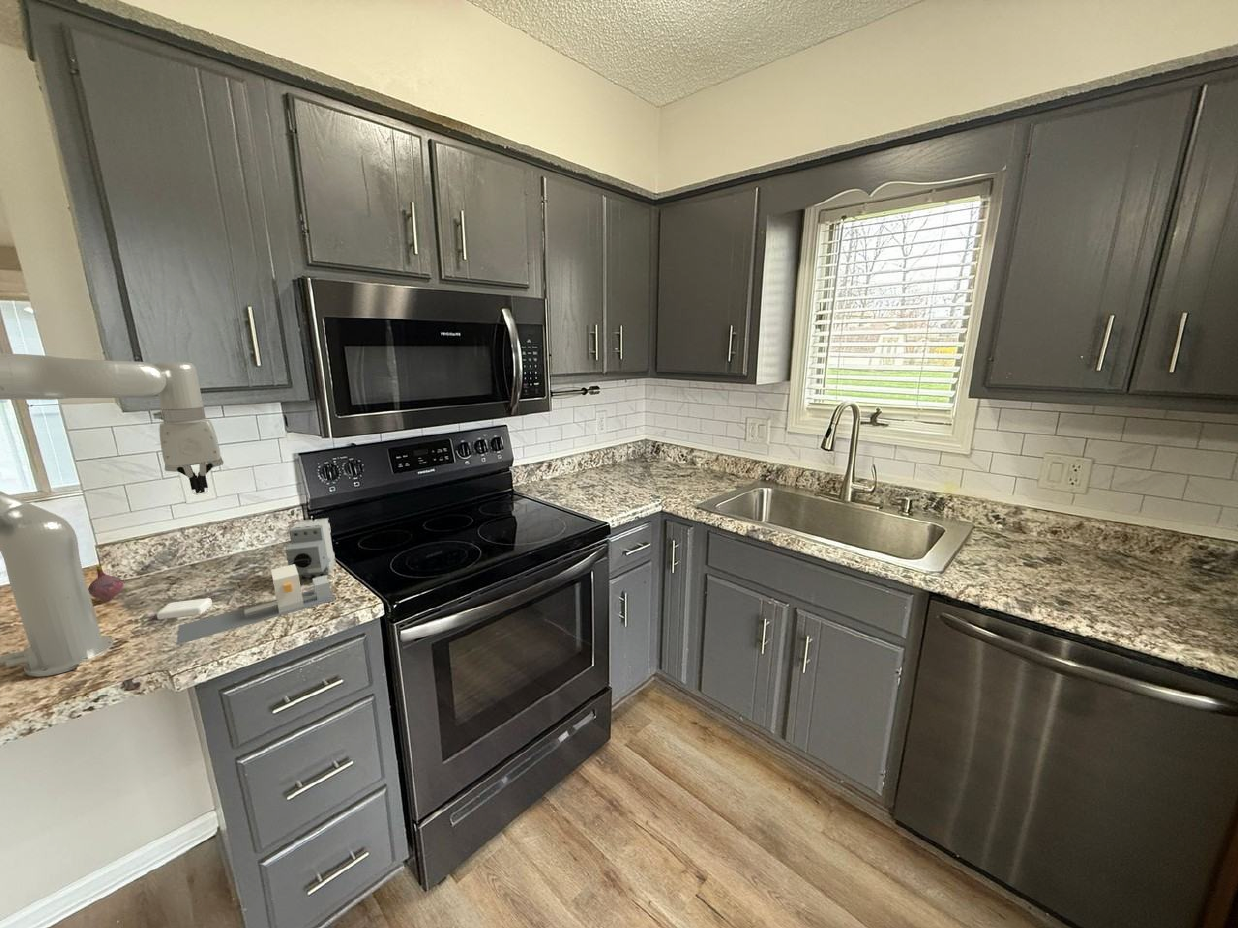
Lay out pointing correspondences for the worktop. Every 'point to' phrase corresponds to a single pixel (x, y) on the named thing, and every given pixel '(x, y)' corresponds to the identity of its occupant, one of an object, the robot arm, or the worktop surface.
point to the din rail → (274, 605)
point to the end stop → (322, 587)
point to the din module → (287, 588)
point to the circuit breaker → (311, 548)
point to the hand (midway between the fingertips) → (200, 491)
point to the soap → (184, 608)
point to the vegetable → (105, 586)
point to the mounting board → (233, 621)
